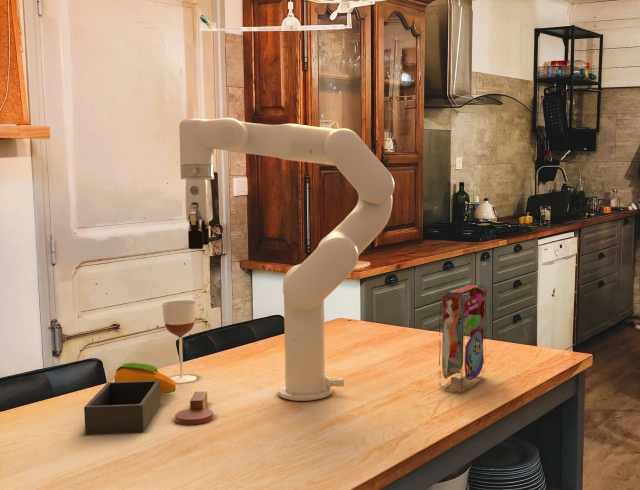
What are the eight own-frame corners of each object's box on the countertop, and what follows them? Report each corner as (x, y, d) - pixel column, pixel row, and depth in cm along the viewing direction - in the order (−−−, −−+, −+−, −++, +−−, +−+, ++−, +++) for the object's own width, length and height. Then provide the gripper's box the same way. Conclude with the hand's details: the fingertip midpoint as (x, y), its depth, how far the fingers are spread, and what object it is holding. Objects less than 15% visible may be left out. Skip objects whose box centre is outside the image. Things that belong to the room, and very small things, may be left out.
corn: (129, 355, 195) (187, 364, 185) (132, 384, 197) (189, 395, 187) (105, 363, 189) (163, 373, 179) (108, 393, 190) (166, 405, 180)
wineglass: (158, 381, 199) (155, 304, 197) (180, 373, 207) (177, 299, 205) (183, 384, 196) (181, 306, 194) (204, 376, 204) (202, 301, 202)
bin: (160, 404, 180) (160, 380, 179) (143, 432, 161) (142, 405, 160) (108, 406, 178) (107, 382, 178) (85, 434, 159) (83, 407, 159)
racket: (218, 403, 181) (218, 390, 180) (210, 424, 166) (210, 410, 166) (183, 404, 180) (183, 392, 179) (172, 425, 165) (171, 411, 165)
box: (476, 368, 212) (477, 279, 210) (497, 370, 209) (498, 281, 207) (438, 391, 190) (438, 292, 188) (461, 394, 187) (462, 294, 185)
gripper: (209, 173, 171) (210, 250, 173) (218, 173, 188) (219, 243, 190) (174, 173, 170) (176, 250, 172) (186, 172, 187) (188, 243, 189)
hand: (199, 246), depth 181 cm, fingers open, 9 cm apart
